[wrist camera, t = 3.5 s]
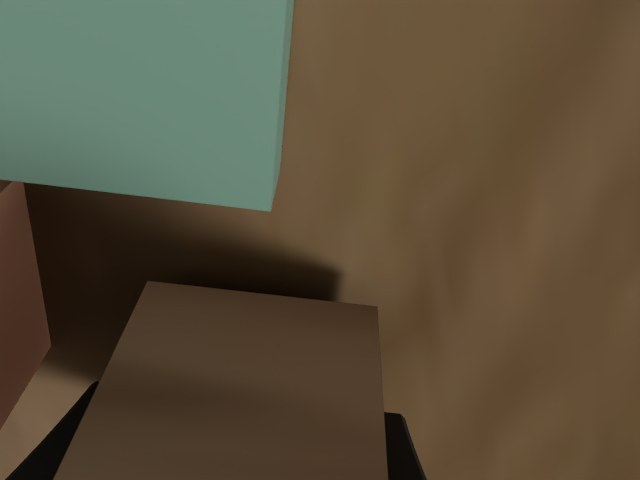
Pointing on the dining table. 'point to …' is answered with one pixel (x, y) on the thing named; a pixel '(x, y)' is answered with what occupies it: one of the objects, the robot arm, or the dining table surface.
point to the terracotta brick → (18, 299)
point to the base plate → (146, 96)
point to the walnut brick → (236, 392)
